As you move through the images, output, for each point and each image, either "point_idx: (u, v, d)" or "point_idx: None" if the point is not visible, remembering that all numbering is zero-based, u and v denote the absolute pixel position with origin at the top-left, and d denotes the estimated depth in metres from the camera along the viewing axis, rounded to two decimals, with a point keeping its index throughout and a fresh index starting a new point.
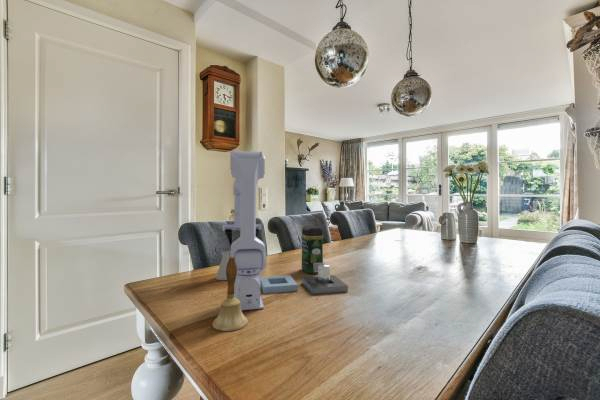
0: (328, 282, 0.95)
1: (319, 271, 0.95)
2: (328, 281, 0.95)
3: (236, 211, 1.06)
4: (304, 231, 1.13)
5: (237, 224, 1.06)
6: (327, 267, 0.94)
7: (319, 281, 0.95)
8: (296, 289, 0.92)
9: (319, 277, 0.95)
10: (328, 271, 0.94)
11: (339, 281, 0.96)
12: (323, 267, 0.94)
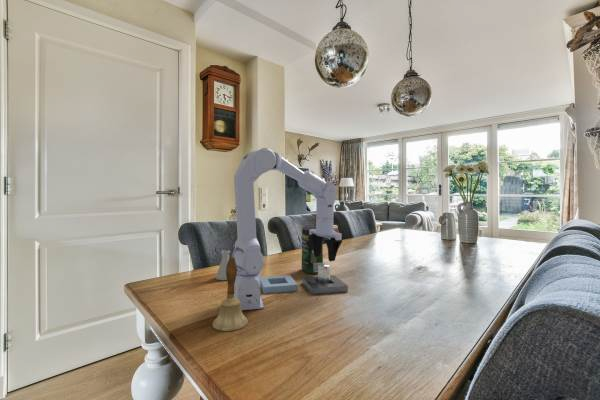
0: (328, 282, 0.95)
1: (319, 271, 0.95)
2: (328, 281, 0.95)
3: None
4: (304, 231, 1.13)
5: (316, 229, 0.96)
6: (327, 267, 0.94)
7: (319, 281, 0.95)
8: (296, 289, 0.92)
9: (319, 277, 0.95)
10: (328, 271, 0.94)
11: (339, 281, 0.96)
12: (323, 267, 0.94)
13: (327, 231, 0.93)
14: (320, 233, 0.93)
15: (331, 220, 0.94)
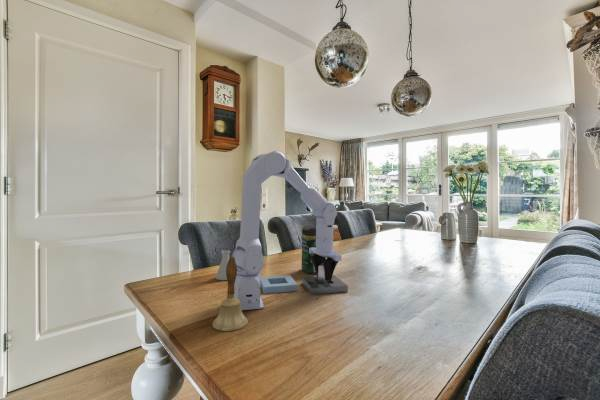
0: (328, 282, 0.95)
1: (319, 271, 0.95)
2: (328, 281, 0.95)
3: None
4: (304, 231, 1.13)
5: (316, 249, 0.96)
6: None
7: (319, 281, 0.95)
8: (296, 289, 0.92)
9: (319, 277, 0.95)
10: None
11: (339, 281, 0.96)
12: (323, 267, 0.94)
13: (327, 251, 0.93)
14: (320, 253, 0.93)
15: (331, 240, 0.94)
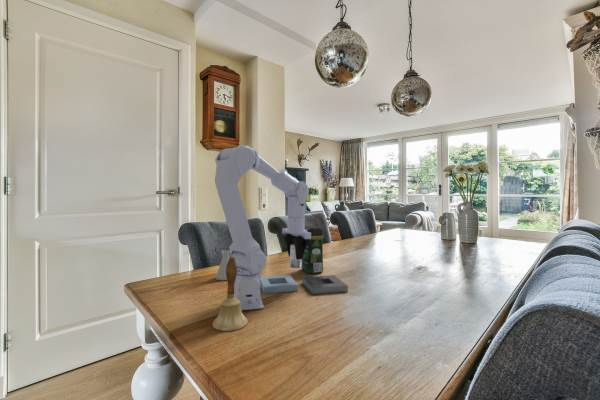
0: (299, 261, 0.94)
1: (290, 250, 0.95)
2: (299, 260, 0.94)
3: None
4: None
5: None
6: None
7: (290, 260, 0.95)
8: (296, 289, 0.92)
9: (290, 256, 0.95)
10: None
11: (339, 281, 0.96)
12: (294, 246, 0.94)
13: (297, 230, 0.93)
14: (290, 232, 0.93)
15: (302, 219, 0.93)
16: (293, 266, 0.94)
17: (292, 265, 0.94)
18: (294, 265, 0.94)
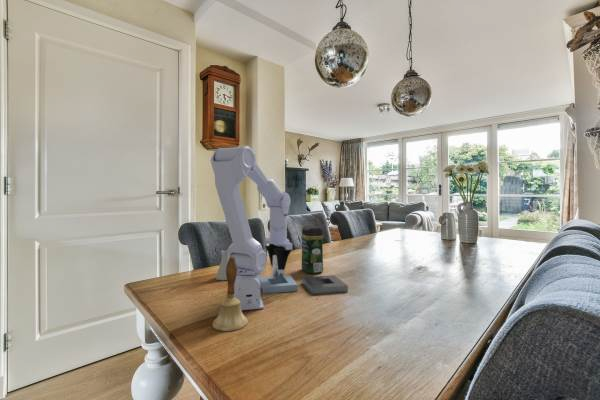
0: (281, 271, 0.95)
1: (273, 260, 0.95)
2: (281, 270, 0.95)
3: (270, 225, 0.95)
4: (304, 231, 1.13)
5: (269, 239, 0.96)
6: None
7: (273, 270, 0.95)
8: (296, 289, 0.92)
9: (273, 266, 0.95)
10: None
11: (339, 281, 0.96)
12: (276, 256, 0.94)
13: (279, 240, 0.93)
14: (272, 242, 0.93)
15: (284, 229, 0.94)
16: (275, 276, 0.94)
17: (275, 275, 0.94)
18: (276, 275, 0.94)
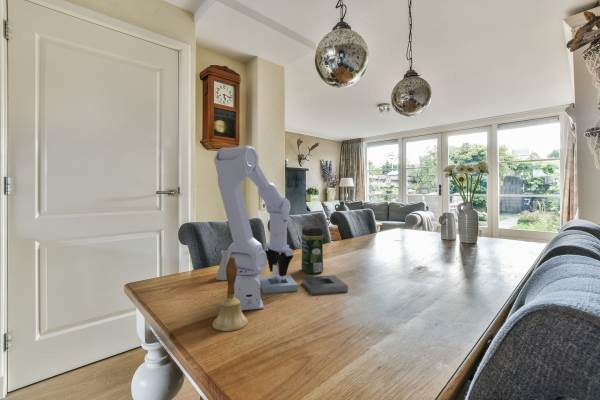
0: (281, 282, 0.95)
1: (273, 270, 0.95)
2: (281, 281, 0.95)
3: None
4: (304, 231, 1.13)
5: (269, 244, 0.96)
6: None
7: (273, 280, 0.95)
8: (296, 289, 0.92)
9: (273, 276, 0.95)
10: None
11: (339, 281, 0.96)
12: (276, 266, 0.94)
13: (279, 246, 0.93)
14: (272, 248, 0.93)
15: (283, 235, 0.94)
16: None
17: None
18: None
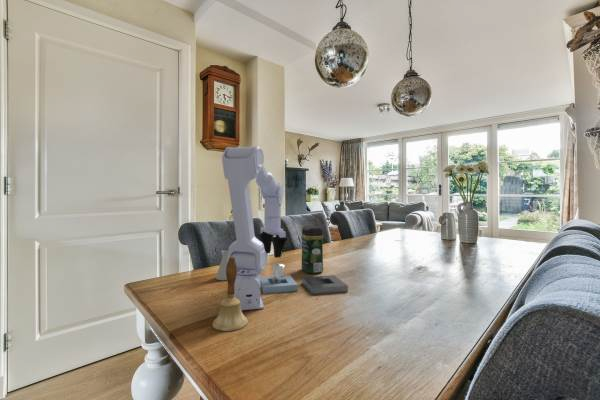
0: (281, 282, 0.95)
1: (273, 270, 0.95)
2: (281, 281, 0.95)
3: (265, 214, 1.00)
4: (304, 231, 1.13)
5: None
6: (280, 266, 0.94)
7: (273, 280, 0.95)
8: (296, 289, 0.92)
9: (273, 276, 0.95)
10: (281, 271, 0.94)
11: (339, 281, 0.96)
12: (276, 266, 0.94)
13: (273, 229, 0.98)
14: (267, 231, 0.99)
15: (277, 219, 0.99)
16: None
17: None
18: None
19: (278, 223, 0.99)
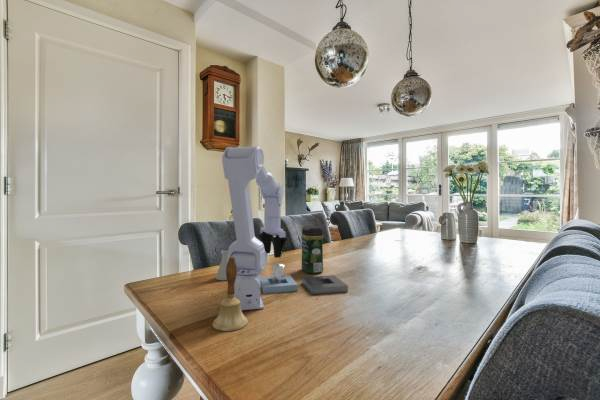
0: (281, 282, 0.95)
1: (273, 270, 0.95)
2: (281, 281, 0.95)
3: (265, 214, 1.00)
4: (304, 231, 1.13)
5: None
6: (280, 266, 0.94)
7: (273, 280, 0.95)
8: (296, 289, 0.92)
9: (273, 276, 0.95)
10: (281, 271, 0.94)
11: (339, 281, 0.96)
12: (276, 266, 0.94)
13: (273, 229, 0.98)
14: (267, 231, 0.99)
15: (277, 219, 0.99)
16: None
17: None
18: None
19: (278, 223, 0.99)
